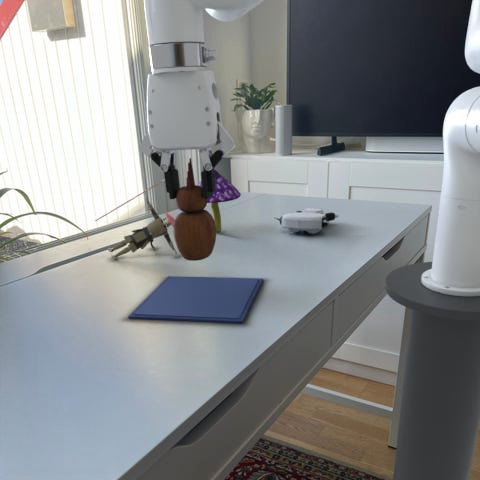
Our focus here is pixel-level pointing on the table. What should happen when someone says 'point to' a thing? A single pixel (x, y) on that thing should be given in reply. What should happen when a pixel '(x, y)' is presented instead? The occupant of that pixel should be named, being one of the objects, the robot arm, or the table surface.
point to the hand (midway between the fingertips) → (191, 196)
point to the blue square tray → (200, 300)
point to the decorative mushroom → (221, 196)
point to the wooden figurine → (193, 222)
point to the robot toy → (306, 220)
